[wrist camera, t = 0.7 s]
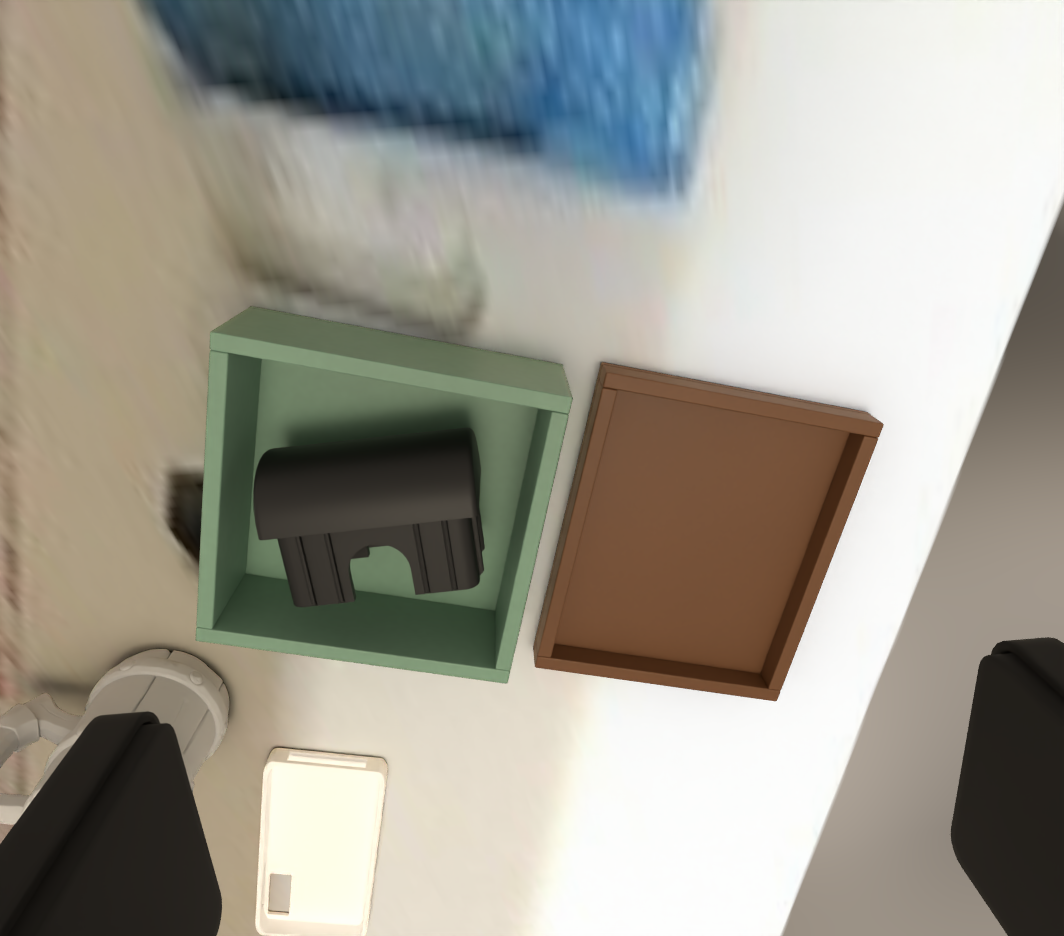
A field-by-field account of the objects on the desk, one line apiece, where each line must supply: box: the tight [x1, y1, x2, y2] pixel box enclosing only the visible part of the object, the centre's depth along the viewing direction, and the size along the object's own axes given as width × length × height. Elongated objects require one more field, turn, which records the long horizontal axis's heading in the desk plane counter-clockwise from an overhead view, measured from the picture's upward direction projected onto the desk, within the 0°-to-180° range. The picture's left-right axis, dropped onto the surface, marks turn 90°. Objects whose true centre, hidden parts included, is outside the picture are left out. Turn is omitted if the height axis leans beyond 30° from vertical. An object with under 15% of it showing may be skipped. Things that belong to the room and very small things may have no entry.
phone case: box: [255, 748, 388, 936], centre depth 50 cm, size 7×1×15 cm
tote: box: [196, 306, 573, 683], centre depth 39 cm, size 16×16×6 cm
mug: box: [0, 649, 229, 825], centre depth 40 cm, size 8×12×12 cm, turn 81°
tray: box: [533, 362, 883, 701], centre depth 43 cm, size 18×15×2 cm
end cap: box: [253, 427, 485, 607], centre depth 38 cm, size 10×7×7 cm
